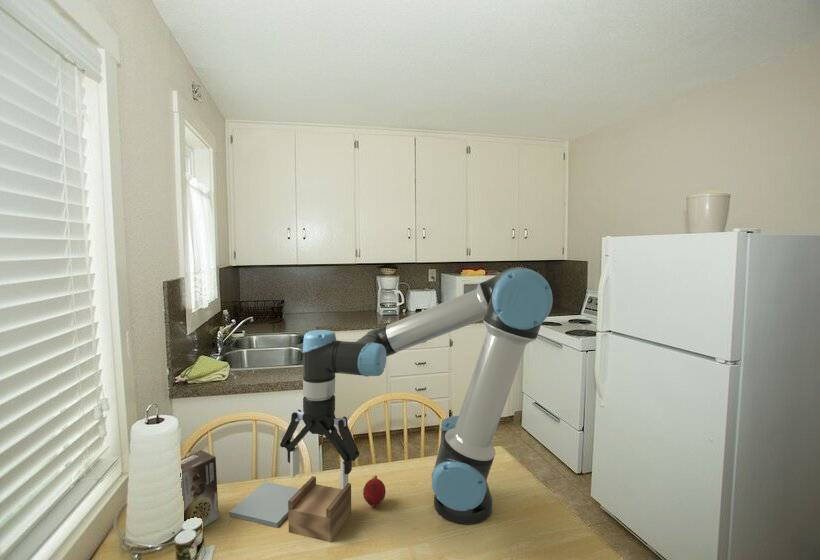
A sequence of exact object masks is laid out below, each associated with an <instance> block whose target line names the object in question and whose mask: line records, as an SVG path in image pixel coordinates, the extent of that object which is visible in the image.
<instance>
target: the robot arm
mask: <svg viewBox="0 0 820 560" xmlns="http://www.w3.org/2000/svg"><path fill="white" fill-rule="evenodd" d="M553 302H554V301H553V292H552V289H551V286H550V284H549V282H548V280H547V279H545V277H544V276H543V275H542V274H541V273H540V272H537V271H535V270H533V269H531V268H529V267H526V266H512V267H509V268H506V269H504V270H503V271H501V272H500V273H498V274H497V275H495V276H493V277H491V278H489V279H487V280H485V281H483V282H480V283H478V284H477V286H476V288H475V289H474V290H470V291H469V292H466V293H464V294H460V295H459V296H455V297H454V298H451V299H448V300H446V301H443V302H441V303H438V304H437V305H434V306H432V307H428V308H427V309H424V310H422V311H419V312H417V313H414V314H412V315H409V316H406V317H404V318H402V319H399V320H396V321H394V322H392V323H390V324H387V325H385V326H382V327H380V328H374V329H371V330H370V331H368V332H367V333H365V335H363V336H361V338H359V339H357V340H356V341H347V340H346V341H344V340H343V341H342V340H337V337H336V333H335V332H334V331H333V330H329V329H315V330H310V331H307V332H306V333H305V334H304V336H303V342H302V343H303V344H302V369H303V370H302V372H303V374H302V377H303V378H302V396H303V398H302V410H301V409H297V410H295V411H294V412H292V413H291V417H290V418H291V419H290V423H289V425H288V427H287V429H286V431H285V433H284V435H283V437H282V439H281V441H280V444H279V446H280V448H284V449H286V451H287V462H288V463H289V467H290V468H289V472H290V473H289V478H290V479H293V478H295V477H296V476H297V475H298V474H300V473H299V472H300V447H298V445H299V443H300V442H301V441H302V440H303V439H304V438H305V436H306V435H308V433H310V434H312V435H319V436H325V438H326V439H327V440H329V441H330V442H331V444H332V446H333V447H334V448H335V450H336V451H337V453H338V454H339V456H340V458H342V460H341V461H340V467H339V468H340V476H339V477H340V478H339V479H340V488H339V489H344V487H345V486H346V485H347V484H348V483H349V474H350V473H351V472H352V469H353V466H352V465H353V463H352V462H354V461H356V459H358V457H359V456H360V451H359V448H358V446H357V445H356V442H355V440H354V436H353V434H352V432H351V430H350V427H349V424H348V417H347V416H342V417H336V415H335V412H336V396H335V394H336V374H342V375H350V376H351V375H352V376H353V375H354V376H363V377H368V378H369V377H379V376H381V375H383V373H384V372H385V368H386V365H387V357H390V356H392V355H394V354H396V353H400V352H401V351H404V350H406V349H407V350H408V349H409V348H412V347H415V346H418V345H420V344H423V343H425V342H428V341H430V340H433V339H435V338H438V337H441V336H443V335H446V334H448V333H451V332H454V331H456V330H459V329H461V328H465V327H467V326H470V325H472V324H475V323H478V322H480V321H483V323H484V326H485V327H486V330H487V331H486V334H485V337H484V339H483V343H482V346H481V349H480V352H479V355H478V358H477V360H476V363H475V366H474V370H473V373H472V375H471V379H470V381H469V384H468V386H467V387H468V388H467V390H466V393H465V396H464V399H463V402H462V405H461V408H460V410H459V411H460V412H459V414H458V415H452V416H448V417H446V418H444V419H443V420H442V421H441V427H440V431H441V433H440V434H441V435H440V445H439V447H438V448H439V449H438V452H437V456H436V460H435V464H434V468H433V469H432V473H431V488H432V492H433V493H434V494H433V508H434V509H435V511H436V513H437V514H438V515H439V516H440V517H442V518H443V519H445V520H447V521H449V522H452V523H454V524H459V525H460V524H461V525H474V524H478V523H482V522H483V521H485V520H487V519H488V518H489V517H490V516H491V515H492V512H493V498H492V494H491V491H490V487H489V483H488V481H487V479H488V477H489V473H490V471H491V467H492V466H493V462H494V459H495V456H496V450H495V449H496V448H494V446H493V444H492V443H493V440H494V437H495V434H496V431H497V428H498V426H499V423H500V421H501V417H502V415H503V412H504V409H505V406H506V403H507V400H508V397H509V395H510V392H511V389H512V386H513V384H514V380H515V378H516V375H517V371H518V369H519V366H520V364H521V361H522V357H523V355H524V352H525V349H526V346H527V345H528V344H529V343H532V342H534V341H536V340H537V337H538V336H539V332H540V330H541V326H542V324H543V323H544V321H545V320H546V319H547V317H548V316H549V315H550V312H551V310H552V308H553ZM301 420H302V421H303V423H304V424H305V426H304V427H302V429H301V430H300V432H299V433H298V434H297V435H296V436H295V438H293V436H294V434H295V432H296V430H297V428H298V425H299V424H300V422H301ZM335 425H336V426H335ZM292 438H293V439H292ZM291 440H292V441H291Z"/></svg>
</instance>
